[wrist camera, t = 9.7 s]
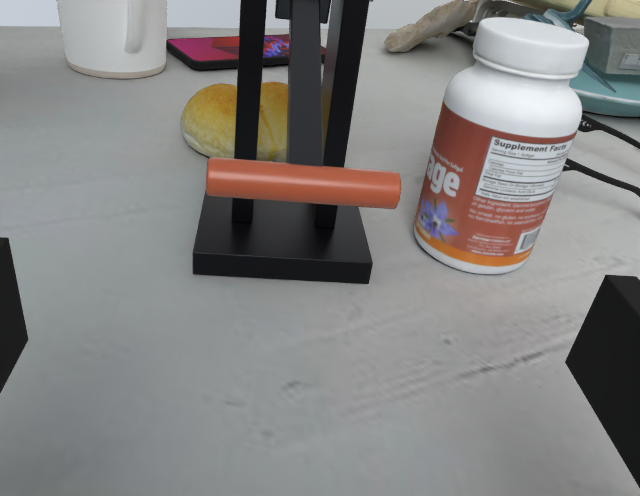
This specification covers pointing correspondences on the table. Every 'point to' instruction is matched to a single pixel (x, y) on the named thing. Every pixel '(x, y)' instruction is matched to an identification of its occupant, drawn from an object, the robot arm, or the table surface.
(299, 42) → the lever
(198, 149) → the bread roll
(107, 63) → the mug
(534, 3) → the wall clock
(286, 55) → the smartphone
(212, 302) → the table surface
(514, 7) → the clamp
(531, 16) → the stylized snake
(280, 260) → the black upright frame
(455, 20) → the stone
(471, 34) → the knife
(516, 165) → the pill bottle
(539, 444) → the table surface
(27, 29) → the table surface
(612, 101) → the plate
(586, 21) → the mineral specimen
